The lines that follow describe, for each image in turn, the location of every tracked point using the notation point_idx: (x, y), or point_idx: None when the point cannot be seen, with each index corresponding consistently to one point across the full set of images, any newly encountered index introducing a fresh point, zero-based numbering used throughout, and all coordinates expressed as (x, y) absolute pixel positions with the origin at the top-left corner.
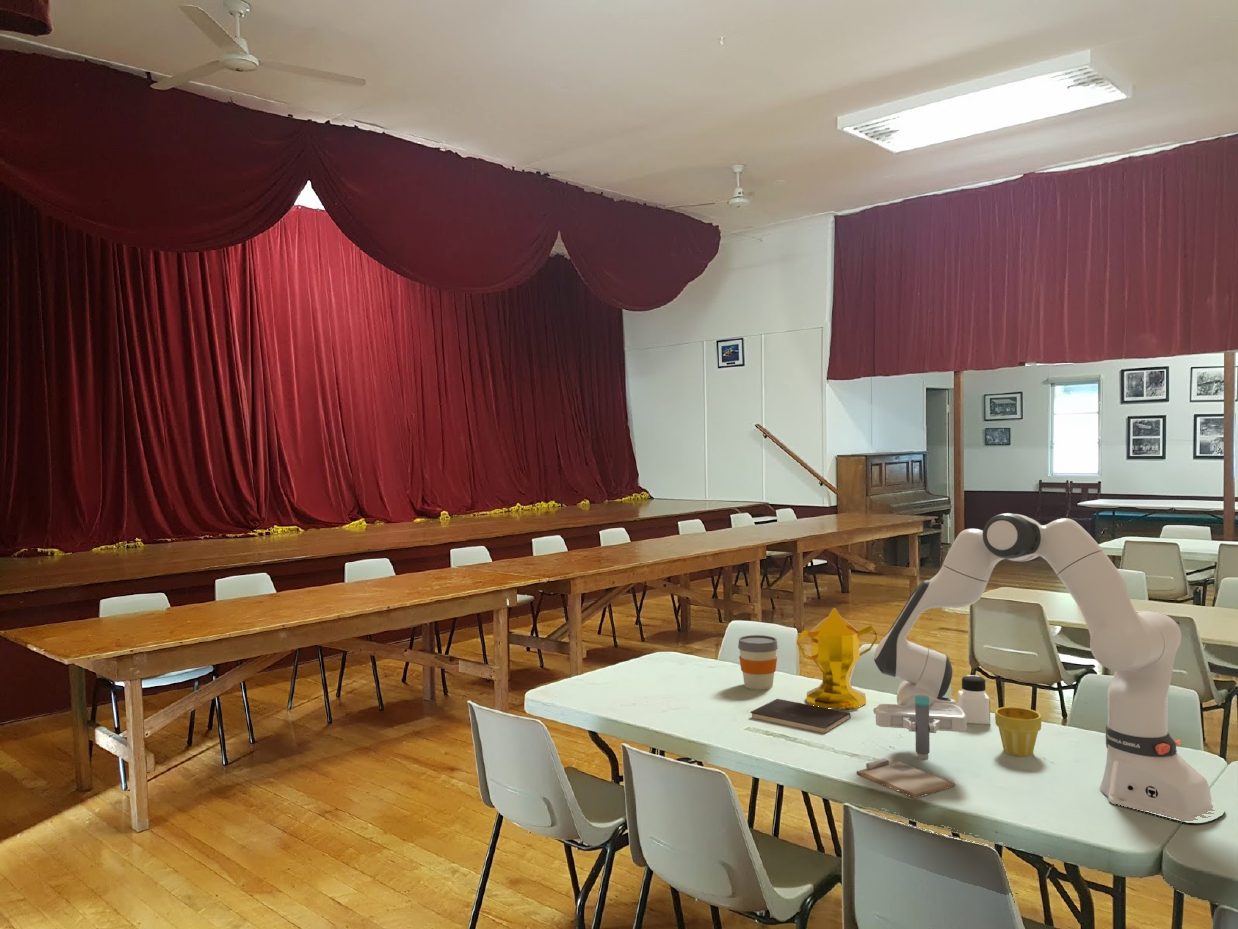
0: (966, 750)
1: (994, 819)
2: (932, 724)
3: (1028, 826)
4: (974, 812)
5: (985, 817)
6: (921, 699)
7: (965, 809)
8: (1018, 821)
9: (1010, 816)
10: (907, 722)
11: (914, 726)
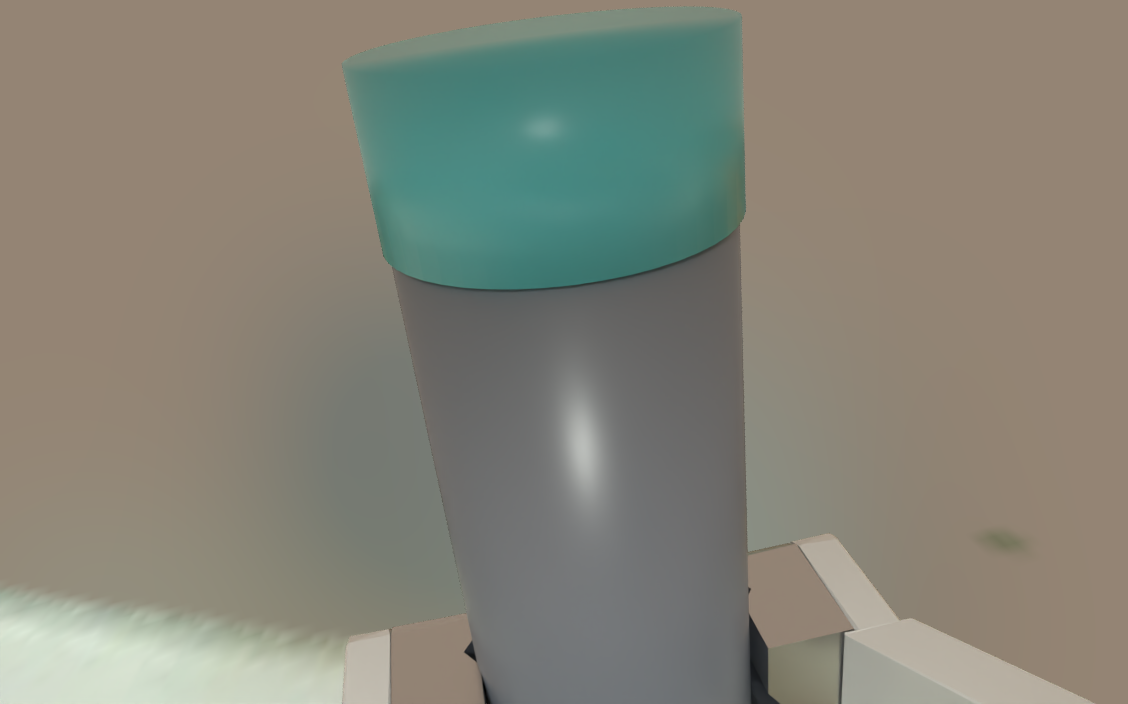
0: None
1: (175, 621)
2: (411, 657)
3: (15, 616)
4: (267, 657)
5: (220, 623)
6: (542, 20)
7: (315, 674)
8: (38, 649)
9: (50, 691)
10: (930, 647)
11: None
